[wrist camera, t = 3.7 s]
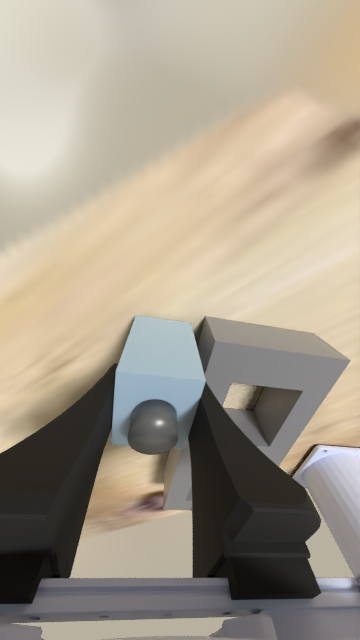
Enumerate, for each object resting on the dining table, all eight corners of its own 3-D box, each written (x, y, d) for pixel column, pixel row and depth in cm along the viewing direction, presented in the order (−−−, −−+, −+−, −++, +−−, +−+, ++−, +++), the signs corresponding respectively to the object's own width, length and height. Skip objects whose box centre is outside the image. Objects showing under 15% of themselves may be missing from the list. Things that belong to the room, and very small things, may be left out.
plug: (191, 322, 14) (211, 402, 8) (178, 375, 16) (186, 473, 10) (136, 314, 14) (108, 392, 7) (130, 370, 16) (104, 470, 9)
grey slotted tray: (313, 333, 16) (359, 366, 12) (237, 474, 24) (249, 519, 20) (205, 316, 14) (217, 346, 11) (164, 470, 23) (163, 517, 19)
